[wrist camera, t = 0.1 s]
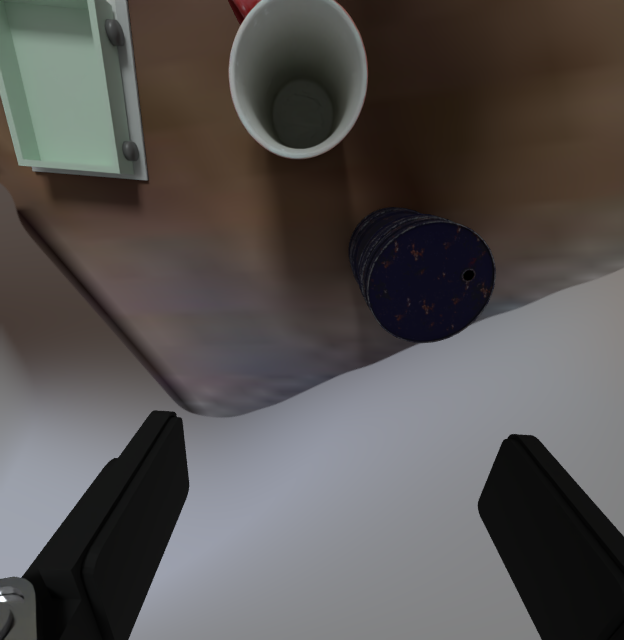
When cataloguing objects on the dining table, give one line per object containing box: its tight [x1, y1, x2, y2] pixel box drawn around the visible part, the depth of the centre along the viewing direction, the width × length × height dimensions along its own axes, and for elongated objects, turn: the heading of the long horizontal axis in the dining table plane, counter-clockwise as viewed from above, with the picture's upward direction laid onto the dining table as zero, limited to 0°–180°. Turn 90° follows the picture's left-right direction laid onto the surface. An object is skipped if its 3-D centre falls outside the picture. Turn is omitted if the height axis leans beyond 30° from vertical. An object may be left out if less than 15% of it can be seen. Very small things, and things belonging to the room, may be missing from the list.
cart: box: [0, 0, 139, 174], centre depth 30 cm, size 14×12×3 cm
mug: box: [228, 0, 368, 159], centre depth 26 cm, size 13×9×14 cm
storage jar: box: [349, 207, 496, 343], centre depth 31 cm, size 10×10×15 cm
